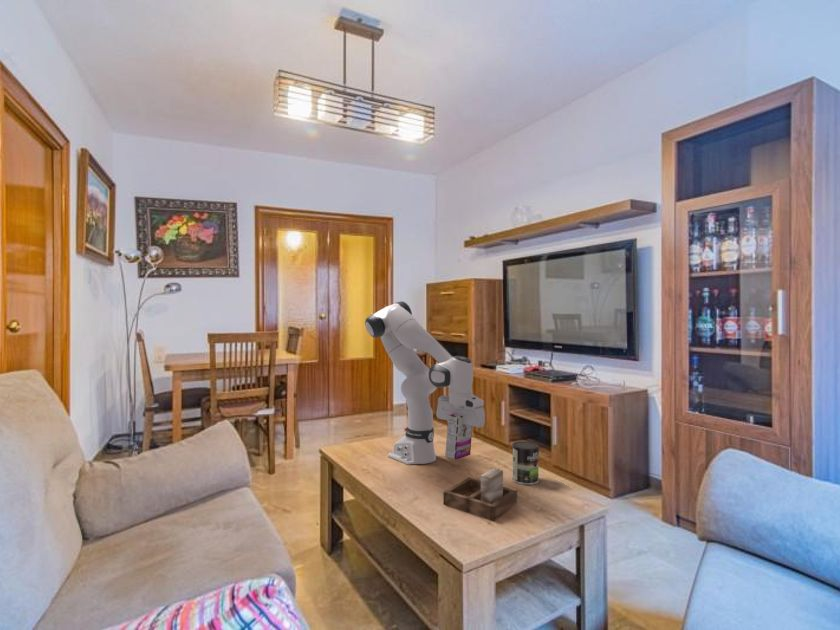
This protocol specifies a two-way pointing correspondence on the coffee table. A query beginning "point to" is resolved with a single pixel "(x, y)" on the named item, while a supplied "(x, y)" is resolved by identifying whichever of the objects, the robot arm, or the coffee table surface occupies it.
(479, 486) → the tray
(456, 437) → the candy bar box
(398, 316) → the robot arm
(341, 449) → the coffee table surface
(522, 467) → the coffee can
